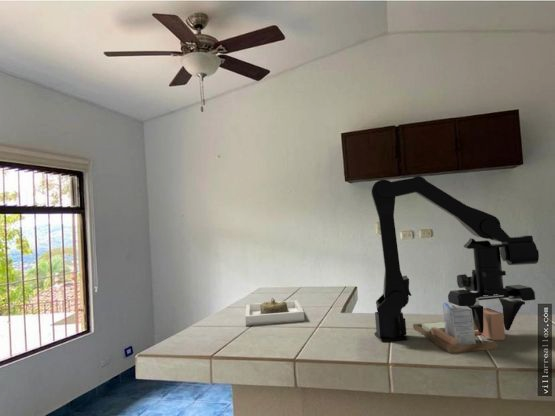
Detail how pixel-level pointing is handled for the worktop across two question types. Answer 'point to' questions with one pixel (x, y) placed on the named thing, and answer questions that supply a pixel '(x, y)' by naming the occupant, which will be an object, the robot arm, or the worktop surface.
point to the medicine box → (459, 323)
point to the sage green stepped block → (439, 326)
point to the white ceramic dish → (273, 314)
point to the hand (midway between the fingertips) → (494, 331)
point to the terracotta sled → (491, 330)
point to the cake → (273, 307)
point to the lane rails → (453, 348)
